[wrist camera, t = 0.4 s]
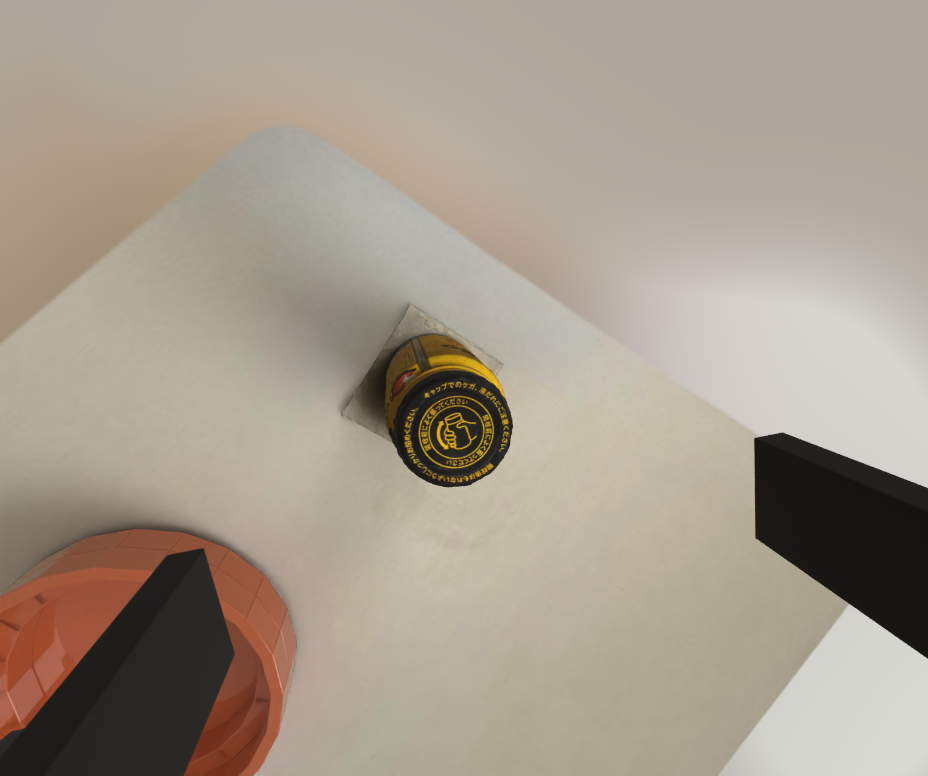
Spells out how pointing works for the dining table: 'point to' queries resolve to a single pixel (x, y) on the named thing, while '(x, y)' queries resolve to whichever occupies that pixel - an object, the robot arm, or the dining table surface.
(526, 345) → the dining table surface
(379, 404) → the condiment
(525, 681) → the dining table surface
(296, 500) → the dining table surface
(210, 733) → the bowl
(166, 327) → the dining table surface
